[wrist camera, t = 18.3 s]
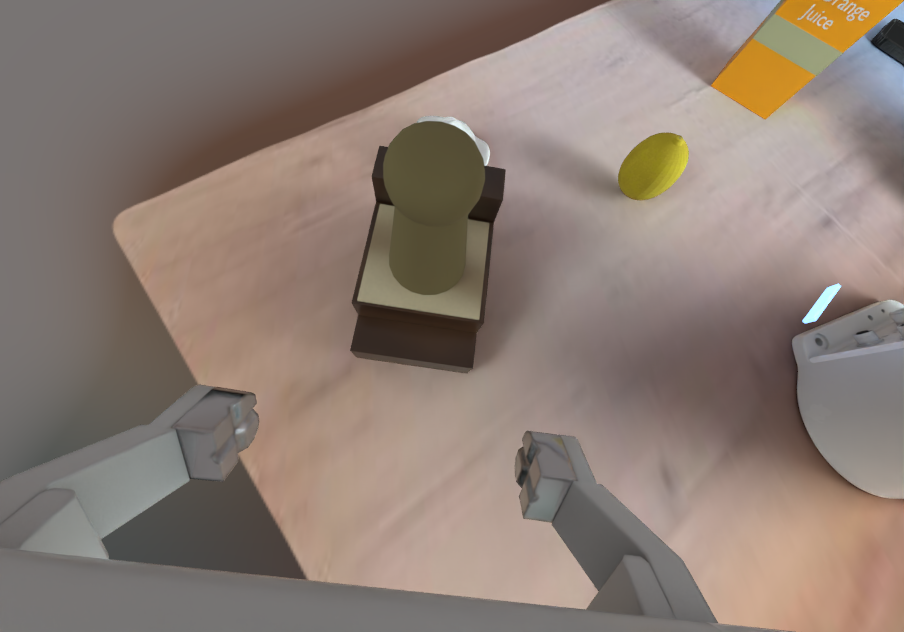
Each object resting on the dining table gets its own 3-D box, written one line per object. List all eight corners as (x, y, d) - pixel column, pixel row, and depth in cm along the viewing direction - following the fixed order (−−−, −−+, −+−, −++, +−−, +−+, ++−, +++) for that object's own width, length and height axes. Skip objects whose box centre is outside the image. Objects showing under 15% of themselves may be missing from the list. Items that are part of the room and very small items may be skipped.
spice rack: (467, 373, 29) (488, 354, 21) (356, 357, 29) (331, 331, 20) (482, 231, 34) (505, 168, 25) (388, 215, 33) (379, 145, 25)
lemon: (610, 214, 37) (662, 161, 29) (599, 174, 38) (645, 114, 31) (654, 213, 37) (716, 161, 30) (641, 174, 39) (696, 115, 31)
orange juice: (729, 59, 48) (935, -177, 29) (782, 91, 47) (1030, -131, 28) (709, 86, 45) (920, -152, 26) (765, 120, 44) (1025, -101, 26)
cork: (382, 231, 26) (361, 103, 15) (456, 221, 27) (482, 95, 16) (396, 301, 24) (381, 211, 14) (473, 288, 25) (515, 194, 15)
